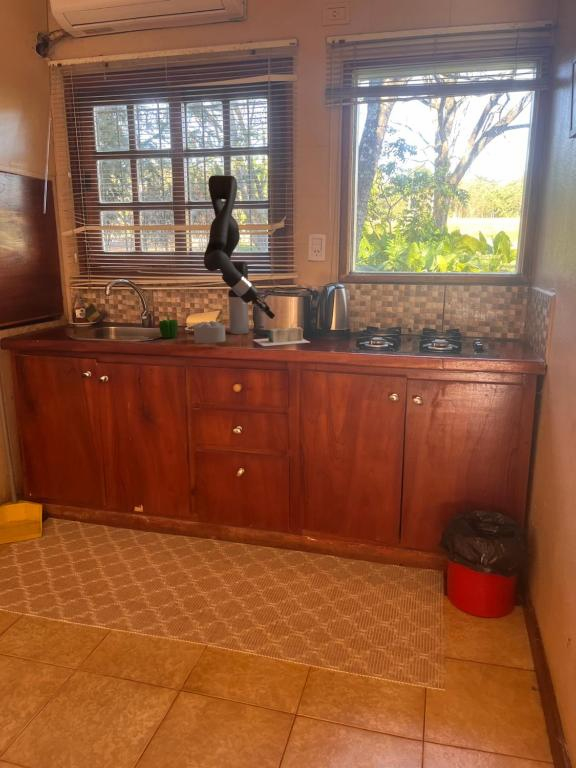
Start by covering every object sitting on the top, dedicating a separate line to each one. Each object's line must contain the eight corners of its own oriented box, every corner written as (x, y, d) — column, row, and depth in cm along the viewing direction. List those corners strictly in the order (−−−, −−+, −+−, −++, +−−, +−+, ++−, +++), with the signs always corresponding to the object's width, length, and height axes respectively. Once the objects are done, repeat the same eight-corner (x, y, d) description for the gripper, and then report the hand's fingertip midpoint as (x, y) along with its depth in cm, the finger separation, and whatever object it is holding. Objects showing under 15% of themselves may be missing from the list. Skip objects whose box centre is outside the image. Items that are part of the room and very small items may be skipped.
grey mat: (252, 341, 239) (252, 339, 239) (296, 337, 246) (296, 336, 246) (263, 347, 224) (263, 345, 224) (310, 343, 232) (310, 342, 232)
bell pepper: (175, 339, 245) (173, 317, 243) (157, 339, 246) (156, 317, 244) (181, 336, 253) (180, 314, 251) (164, 335, 254) (163, 314, 252)
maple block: (268, 329, 234) (298, 327, 239) (268, 340, 236) (298, 338, 241) (272, 331, 230) (302, 328, 235) (272, 342, 231) (302, 340, 236)
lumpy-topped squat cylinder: (201, 339, 245) (200, 320, 243) (228, 340, 242) (228, 320, 240) (192, 343, 235) (191, 323, 233) (221, 344, 232) (220, 324, 230)
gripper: (255, 283, 218) (284, 312, 226) (245, 281, 230) (273, 308, 238) (242, 297, 218) (272, 325, 225) (234, 294, 230) (262, 321, 237)
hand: (273, 317), depth 231 cm, fingers closed
